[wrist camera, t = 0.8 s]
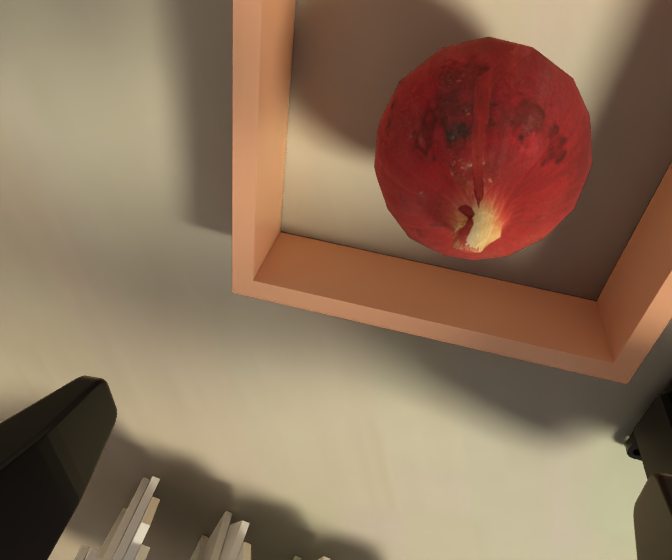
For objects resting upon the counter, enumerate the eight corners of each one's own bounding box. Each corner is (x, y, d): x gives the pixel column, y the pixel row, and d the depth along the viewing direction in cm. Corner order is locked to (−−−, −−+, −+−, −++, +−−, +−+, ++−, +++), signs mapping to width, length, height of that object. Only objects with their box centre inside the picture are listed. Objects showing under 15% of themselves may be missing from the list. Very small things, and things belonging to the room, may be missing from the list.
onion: (373, 42, 18) (314, 133, 11) (565, -11, 16) (623, 62, 9) (412, 200, 21) (383, 342, 14) (577, 172, 19) (627, 321, 12)
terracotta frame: (867, -131, 13) (972, -133, 10) (608, 320, 22) (627, 384, 19) (280, -212, 14) (233, -234, 12) (261, 243, 23) (232, 292, 20)
